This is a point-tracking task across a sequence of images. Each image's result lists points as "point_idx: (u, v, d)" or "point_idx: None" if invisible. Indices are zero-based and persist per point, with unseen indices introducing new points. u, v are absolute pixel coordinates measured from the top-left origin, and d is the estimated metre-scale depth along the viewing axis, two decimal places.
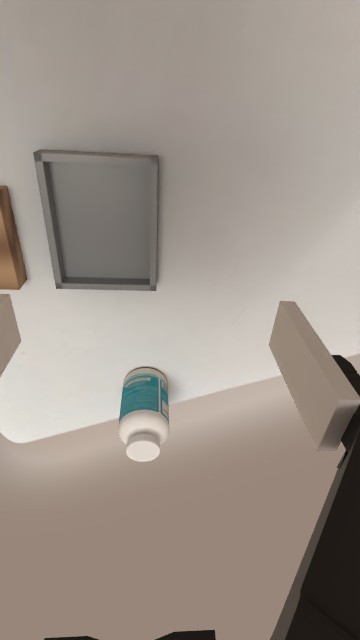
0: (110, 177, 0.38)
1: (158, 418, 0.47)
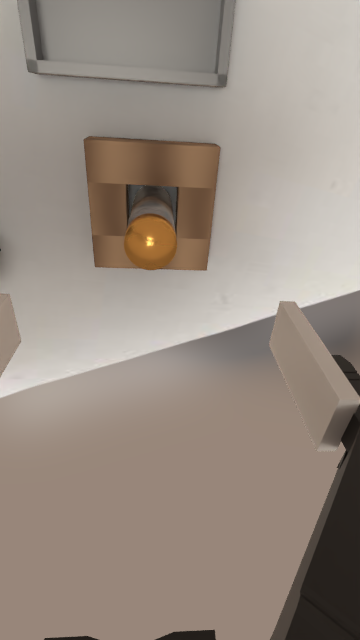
0: None
1: None
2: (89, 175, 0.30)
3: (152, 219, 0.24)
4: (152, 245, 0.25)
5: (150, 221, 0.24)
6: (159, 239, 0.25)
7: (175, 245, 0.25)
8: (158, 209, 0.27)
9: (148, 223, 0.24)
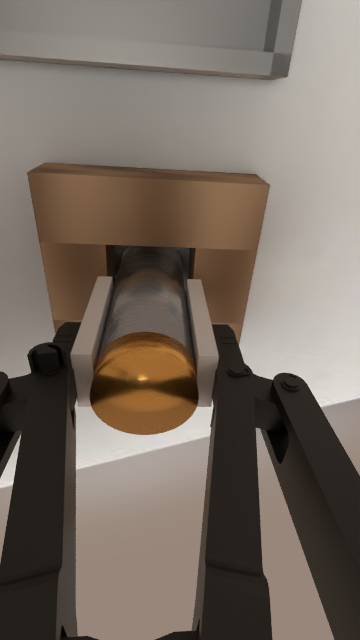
0: None
1: None
2: (42, 231, 0.18)
3: (147, 356, 0.11)
4: (148, 399, 0.12)
5: (144, 361, 0.11)
6: (163, 389, 0.12)
7: (195, 398, 0.12)
8: (161, 313, 0.14)
9: (139, 364, 0.11)
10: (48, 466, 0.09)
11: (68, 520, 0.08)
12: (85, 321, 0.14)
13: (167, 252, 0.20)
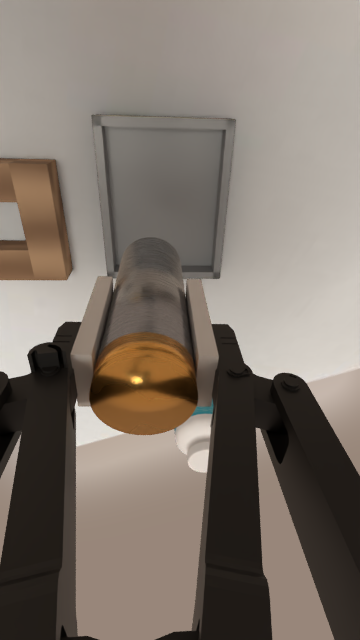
0: (175, 146, 0.33)
1: None
2: (15, 166, 0.31)
3: (146, 356, 0.11)
4: (148, 399, 0.12)
5: (143, 361, 0.11)
6: (162, 389, 0.12)
7: (194, 398, 0.12)
8: (160, 313, 0.14)
9: (139, 365, 0.11)
10: (49, 466, 0.09)
11: (68, 520, 0.08)
12: (85, 321, 0.14)
13: (167, 252, 0.20)
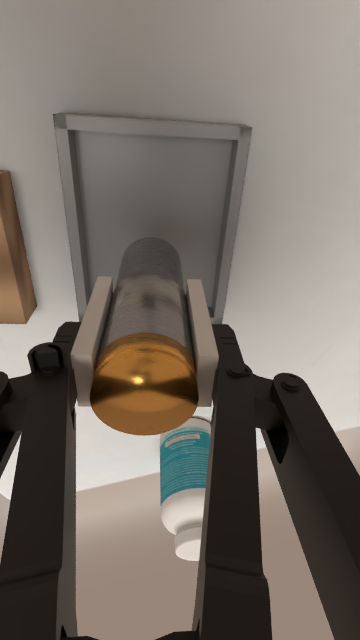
0: (169, 158, 0.25)
1: None
2: None
3: (147, 357, 0.11)
4: (148, 399, 0.12)
5: (144, 362, 0.11)
6: (163, 390, 0.12)
7: (195, 398, 0.12)
8: (161, 313, 0.14)
9: (139, 365, 0.11)
10: (49, 466, 0.09)
11: (68, 520, 0.08)
12: (85, 321, 0.14)
13: (167, 253, 0.20)
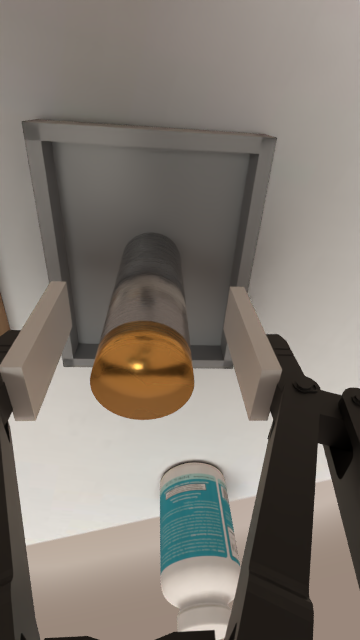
0: (171, 175, 0.20)
1: (229, 572, 0.29)
2: None
3: (145, 342, 0.12)
4: (146, 384, 0.13)
5: (141, 347, 0.12)
6: (160, 375, 0.13)
7: (191, 384, 0.13)
8: (159, 303, 0.14)
9: (137, 350, 0.12)
10: None
11: (15, 532, 0.08)
12: (24, 330, 0.13)
13: (167, 247, 0.20)
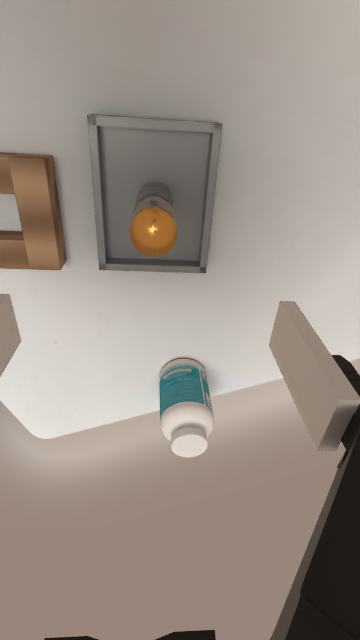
0: (165, 146, 0.35)
1: (205, 411, 0.44)
2: (14, 160, 0.33)
3: (155, 210, 0.27)
4: (155, 234, 0.28)
5: (153, 212, 0.27)
6: (161, 228, 0.28)
7: (176, 234, 0.28)
8: (160, 202, 0.30)
9: (152, 214, 0.27)
10: None
11: None
12: None
13: (163, 188, 0.36)
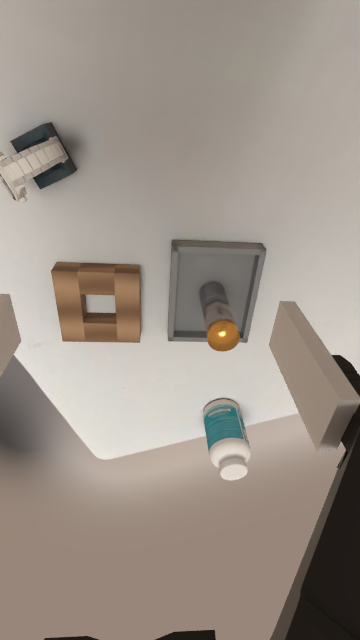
0: (223, 259, 0.49)
1: (245, 445, 0.57)
2: (118, 274, 0.46)
3: (226, 325, 0.40)
4: (225, 338, 0.41)
5: (225, 326, 0.40)
6: (229, 335, 0.41)
7: (238, 338, 0.41)
8: (226, 313, 0.43)
9: (224, 327, 0.41)
10: None
11: None
12: None
13: (221, 288, 0.49)
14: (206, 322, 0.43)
